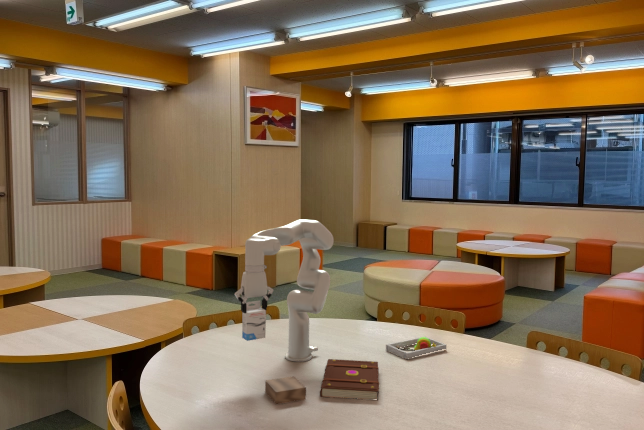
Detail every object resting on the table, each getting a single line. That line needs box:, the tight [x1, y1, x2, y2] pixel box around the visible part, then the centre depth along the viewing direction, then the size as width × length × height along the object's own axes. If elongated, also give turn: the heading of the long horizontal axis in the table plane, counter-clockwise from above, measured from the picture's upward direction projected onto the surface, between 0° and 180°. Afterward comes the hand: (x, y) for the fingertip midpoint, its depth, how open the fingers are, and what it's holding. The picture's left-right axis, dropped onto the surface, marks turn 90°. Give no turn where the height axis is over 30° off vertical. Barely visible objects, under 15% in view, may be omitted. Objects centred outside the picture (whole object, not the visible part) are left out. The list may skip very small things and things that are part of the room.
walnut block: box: [264, 375, 307, 405], centre depth 203 cm, size 12×12×5 cm
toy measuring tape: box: [396, 336, 436, 351], centre depth 259 cm, size 6×20×7 cm, turn 78°
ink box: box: [241, 300, 267, 342], centre depth 216 cm, size 8×5×15 cm, turn 123°
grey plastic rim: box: [385, 336, 447, 360], centre depth 259 cm, size 26×15×3 cm, turn 123°
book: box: [319, 358, 380, 400], centre depth 217 cm, size 23×32×5 cm
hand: (254, 311), depth 215 cm, fingers closed on ink box, 8 cm apart
